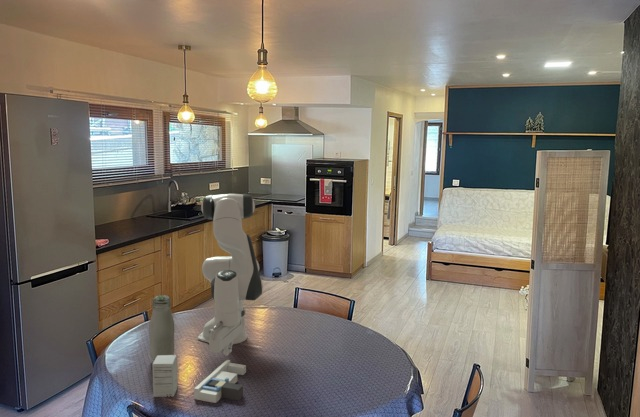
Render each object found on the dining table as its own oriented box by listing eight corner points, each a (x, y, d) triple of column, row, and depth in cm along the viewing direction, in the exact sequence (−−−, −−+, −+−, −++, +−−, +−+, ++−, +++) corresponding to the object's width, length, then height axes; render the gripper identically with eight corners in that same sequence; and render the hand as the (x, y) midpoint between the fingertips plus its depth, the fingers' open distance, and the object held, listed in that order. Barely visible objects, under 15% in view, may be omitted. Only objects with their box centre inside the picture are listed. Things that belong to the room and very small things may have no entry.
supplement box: (157, 387, 178) (156, 354, 176) (178, 386, 179) (177, 354, 177) (152, 397, 171) (151, 364, 169) (174, 396, 172) (173, 363, 170)
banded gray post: (208, 394, 173) (208, 384, 173) (213, 389, 177) (213, 379, 176) (238, 400, 170) (238, 389, 169) (243, 395, 173) (243, 384, 173)
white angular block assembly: (194, 399, 170) (194, 386, 170) (226, 369, 193) (226, 358, 192) (215, 403, 168) (215, 390, 167) (246, 372, 191) (245, 361, 190)
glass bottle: (152, 368, 193) (150, 301, 189) (148, 358, 202) (146, 293, 198) (177, 363, 197) (175, 297, 193) (172, 353, 206) (171, 290, 202)
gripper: (220, 329, 158) (221, 368, 161) (247, 308, 178) (247, 343, 180) (203, 326, 160) (204, 365, 162) (232, 306, 180) (232, 340, 182)
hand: (227, 353), depth 171 cm, fingers closed
